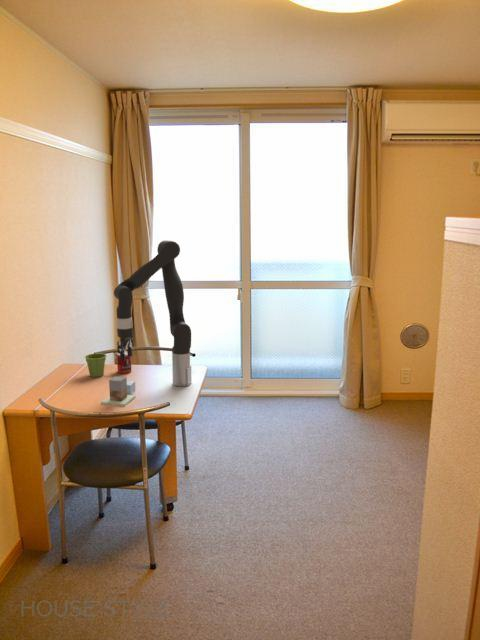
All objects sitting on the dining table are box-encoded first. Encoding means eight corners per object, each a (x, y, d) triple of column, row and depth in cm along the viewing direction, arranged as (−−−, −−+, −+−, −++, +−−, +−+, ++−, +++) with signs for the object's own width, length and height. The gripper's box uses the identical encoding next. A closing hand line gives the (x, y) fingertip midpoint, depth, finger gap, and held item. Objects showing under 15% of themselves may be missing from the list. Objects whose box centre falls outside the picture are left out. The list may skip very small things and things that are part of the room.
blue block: (135, 391, 260) (135, 381, 259) (130, 395, 254) (130, 385, 253) (124, 390, 261) (123, 380, 260) (119, 394, 255) (119, 384, 254)
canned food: (121, 374, 285) (120, 355, 283) (115, 371, 291) (114, 352, 289) (134, 372, 290) (133, 353, 288) (127, 368, 296) (126, 350, 294)
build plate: (135, 397, 250) (135, 395, 250) (124, 406, 239) (124, 404, 238) (112, 395, 253) (112, 393, 253) (101, 404, 241) (101, 402, 241)
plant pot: (109, 372, 289) (108, 353, 287) (105, 378, 278) (104, 358, 275) (88, 372, 289) (87, 353, 287) (82, 378, 277) (81, 358, 275)
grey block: (126, 387, 247) (126, 377, 246) (121, 391, 241) (120, 381, 240) (115, 386, 248) (114, 376, 247) (109, 390, 242) (109, 380, 241)
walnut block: (127, 397, 248) (126, 387, 247) (121, 401, 242) (121, 391, 241) (115, 396, 249) (115, 386, 248) (109, 400, 243) (109, 390, 242)
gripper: (126, 330, 242) (127, 363, 245) (137, 323, 255) (139, 355, 259) (111, 329, 243) (113, 362, 247) (123, 323, 257) (125, 354, 260)
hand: (126, 358), depth 253 cm, fingers open, 8 cm apart
